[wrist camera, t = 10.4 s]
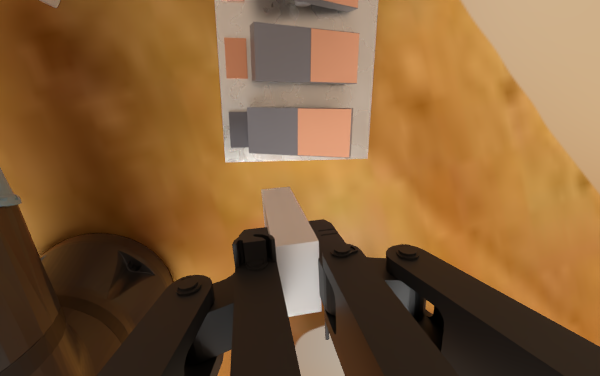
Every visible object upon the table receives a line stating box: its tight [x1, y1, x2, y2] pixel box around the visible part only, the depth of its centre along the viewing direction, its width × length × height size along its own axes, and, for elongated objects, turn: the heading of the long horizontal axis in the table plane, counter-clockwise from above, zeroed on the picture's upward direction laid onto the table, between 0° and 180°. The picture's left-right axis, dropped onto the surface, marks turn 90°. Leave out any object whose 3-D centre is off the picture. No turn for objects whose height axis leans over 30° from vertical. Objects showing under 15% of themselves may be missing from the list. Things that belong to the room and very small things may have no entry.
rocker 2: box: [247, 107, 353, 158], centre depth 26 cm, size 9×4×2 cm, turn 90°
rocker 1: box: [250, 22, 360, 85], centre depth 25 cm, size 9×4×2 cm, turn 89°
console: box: [215, 0, 378, 162], centre depth 29 cm, size 14×18×5 cm
